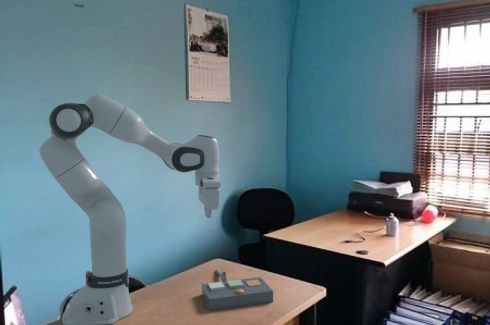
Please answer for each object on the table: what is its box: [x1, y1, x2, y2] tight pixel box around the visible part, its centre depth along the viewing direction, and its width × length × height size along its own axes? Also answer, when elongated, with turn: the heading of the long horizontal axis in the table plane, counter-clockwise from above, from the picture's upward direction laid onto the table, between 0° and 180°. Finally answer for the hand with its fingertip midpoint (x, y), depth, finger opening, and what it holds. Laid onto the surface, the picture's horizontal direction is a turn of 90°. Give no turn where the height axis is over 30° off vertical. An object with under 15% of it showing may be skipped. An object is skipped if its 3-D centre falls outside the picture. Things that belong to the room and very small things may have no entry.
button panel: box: [201, 276, 274, 311], centre depth 153 cm, size 23×14×5 cm, turn 106°
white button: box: [208, 281, 225, 292], centre depth 153 cm, size 5×5×3 cm
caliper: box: [215, 268, 227, 282], centre depth 172 cm, size 20×1×6 cm, turn 13°
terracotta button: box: [245, 280, 262, 287], centre depth 157 cm, size 5×5×3 cm
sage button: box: [226, 279, 244, 289], centre depth 155 cm, size 5×5×3 cm
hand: (208, 217), depth 155 cm, fingers closed
